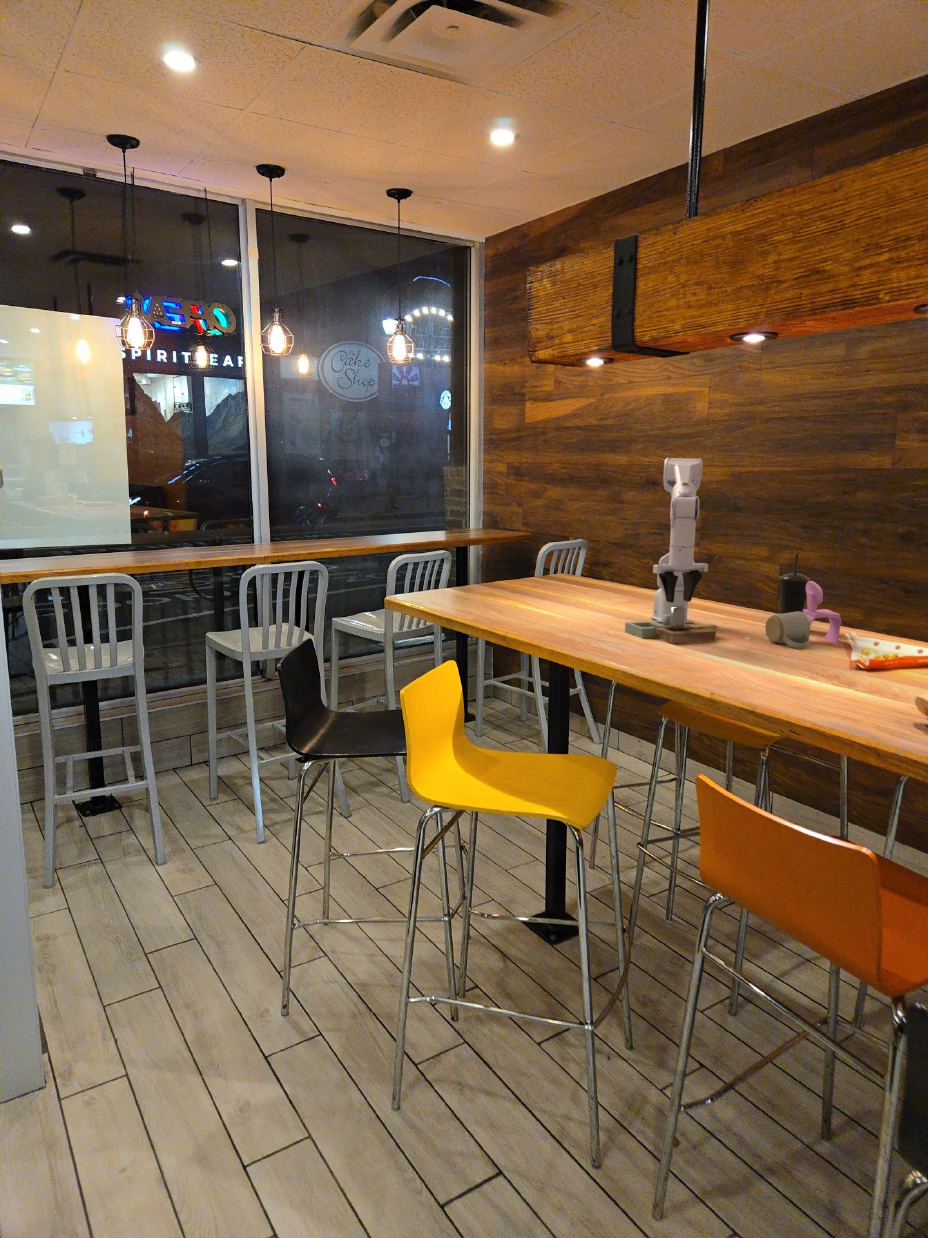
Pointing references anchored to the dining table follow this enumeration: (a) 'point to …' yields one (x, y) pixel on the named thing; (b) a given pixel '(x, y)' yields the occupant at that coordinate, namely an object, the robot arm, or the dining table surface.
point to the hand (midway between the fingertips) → (678, 601)
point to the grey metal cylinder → (677, 618)
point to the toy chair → (821, 611)
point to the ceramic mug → (789, 629)
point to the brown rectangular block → (703, 627)
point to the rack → (646, 627)
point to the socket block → (683, 634)
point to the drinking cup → (793, 591)
